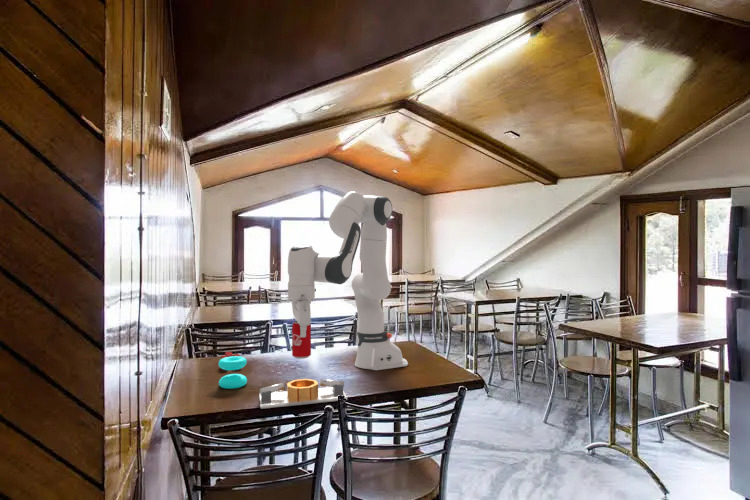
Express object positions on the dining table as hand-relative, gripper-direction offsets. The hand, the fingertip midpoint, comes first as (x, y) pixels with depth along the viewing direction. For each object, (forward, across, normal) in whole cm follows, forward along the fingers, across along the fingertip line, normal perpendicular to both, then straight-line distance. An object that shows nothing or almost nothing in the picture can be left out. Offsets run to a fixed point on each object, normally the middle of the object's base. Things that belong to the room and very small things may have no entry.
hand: (301, 334), depth 158 cm
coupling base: (+22, 0, 0) cm, 22 cm away
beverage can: (+8, 0, 0) cm, 8 cm away
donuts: (+22, +22, +23) cm, 39 cm away
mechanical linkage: (+22, +51, +25) cm, 61 cm away
